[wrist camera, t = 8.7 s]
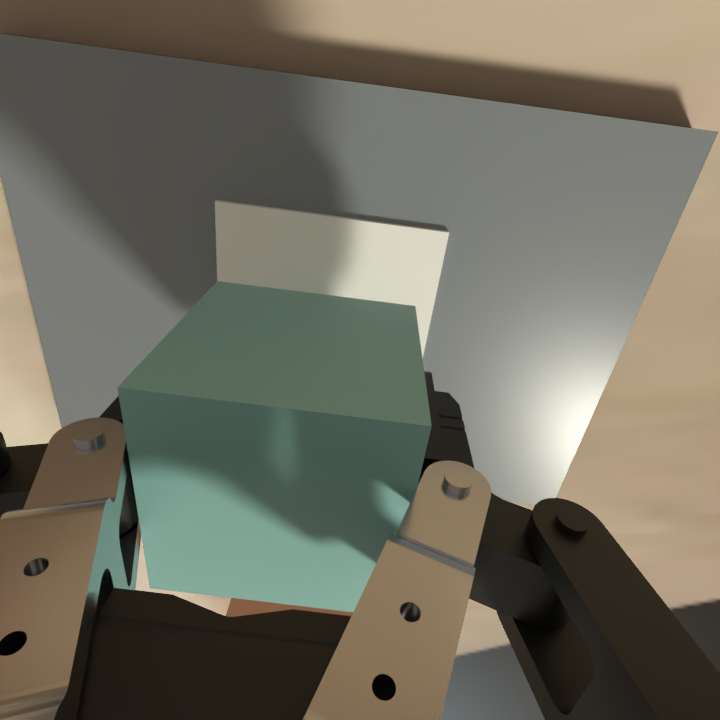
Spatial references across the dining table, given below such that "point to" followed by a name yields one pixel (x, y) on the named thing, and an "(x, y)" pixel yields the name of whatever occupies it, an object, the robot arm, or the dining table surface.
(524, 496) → the plate
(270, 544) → the teal cube
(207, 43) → the dining table surface
